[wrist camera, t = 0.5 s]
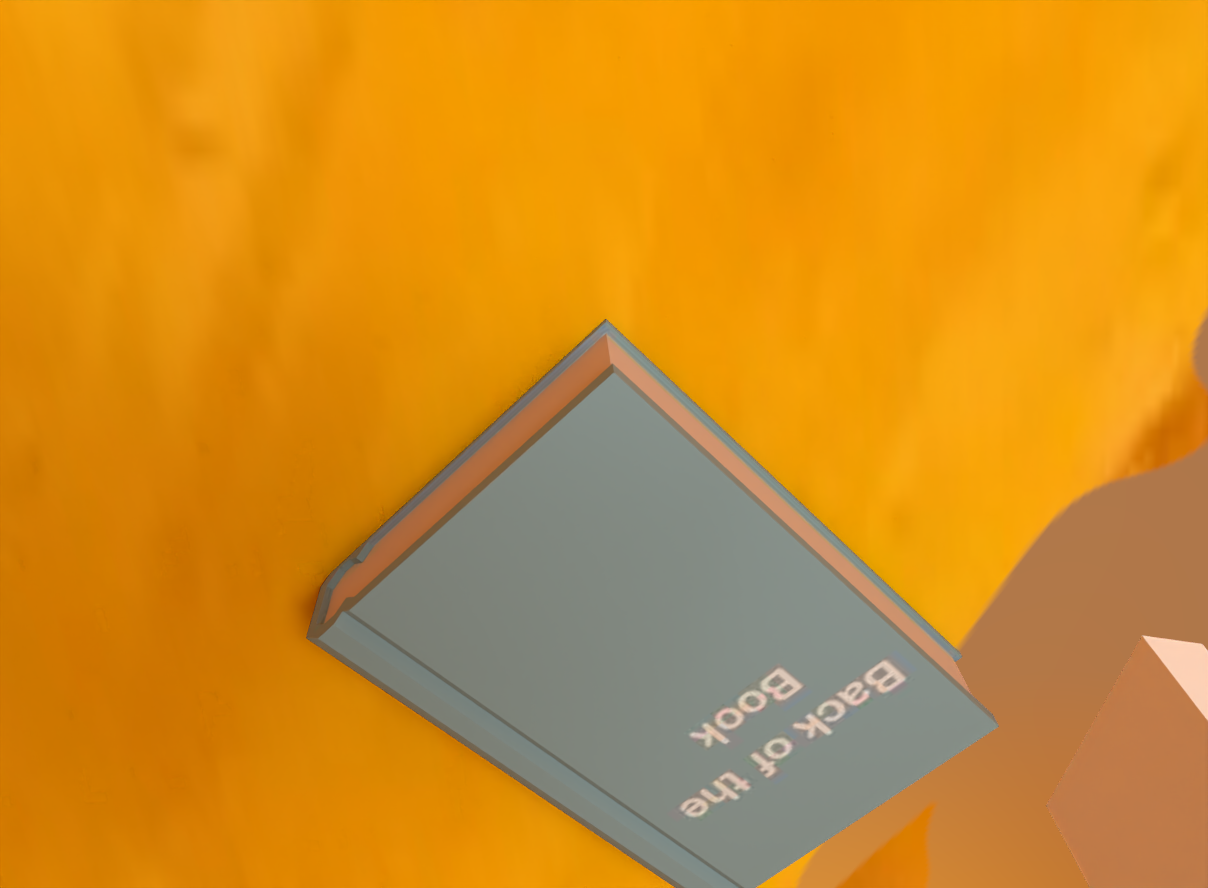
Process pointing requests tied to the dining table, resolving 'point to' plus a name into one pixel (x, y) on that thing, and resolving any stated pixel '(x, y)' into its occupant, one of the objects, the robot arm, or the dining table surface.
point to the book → (649, 630)
